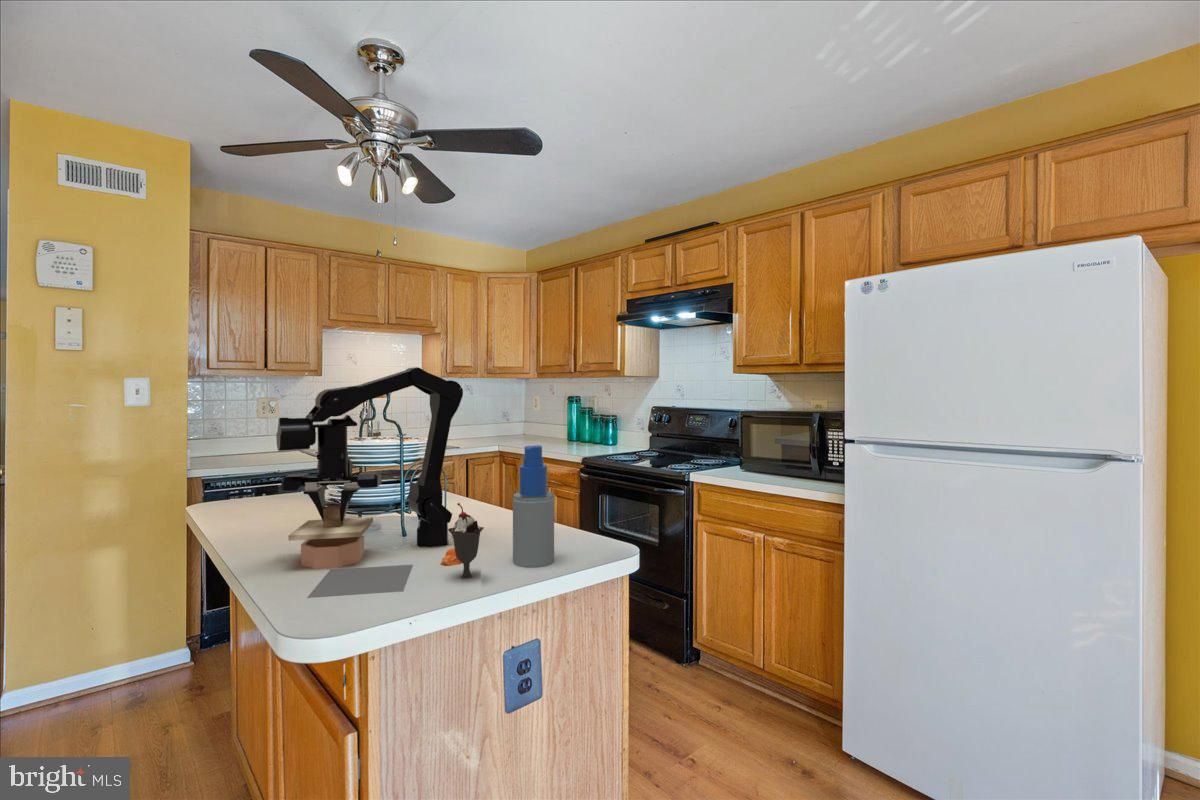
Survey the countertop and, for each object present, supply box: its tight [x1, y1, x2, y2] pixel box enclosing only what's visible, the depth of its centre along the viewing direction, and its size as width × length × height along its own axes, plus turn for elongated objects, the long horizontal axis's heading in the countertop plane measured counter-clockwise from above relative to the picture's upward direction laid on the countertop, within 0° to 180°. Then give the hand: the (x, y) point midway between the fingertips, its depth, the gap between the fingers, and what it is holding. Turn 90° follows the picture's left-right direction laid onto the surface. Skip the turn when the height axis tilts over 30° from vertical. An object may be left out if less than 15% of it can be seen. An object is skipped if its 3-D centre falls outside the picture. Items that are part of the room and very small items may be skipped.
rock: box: [440, 548, 463, 567], centre depth 122 cm, size 12×12×4 cm
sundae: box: [448, 502, 485, 579], centre depth 112 cm, size 7×7×15 cm
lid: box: [287, 504, 374, 541], centre depth 123 cm, size 14×14×5 cm
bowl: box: [300, 535, 365, 570], centre depth 123 cm, size 12×12×5 cm
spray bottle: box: [512, 444, 555, 568], centre depth 124 cm, size 9×9×25 cm
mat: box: [306, 564, 414, 599], centre depth 110 cm, size 16×16×1 cm
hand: (333, 521), depth 123 cm, fingers closed on lid, 3 cm apart
